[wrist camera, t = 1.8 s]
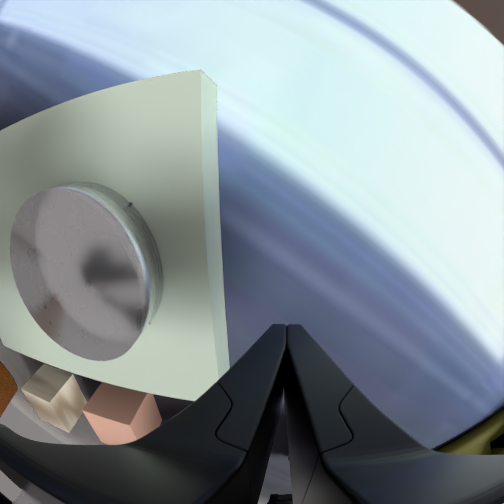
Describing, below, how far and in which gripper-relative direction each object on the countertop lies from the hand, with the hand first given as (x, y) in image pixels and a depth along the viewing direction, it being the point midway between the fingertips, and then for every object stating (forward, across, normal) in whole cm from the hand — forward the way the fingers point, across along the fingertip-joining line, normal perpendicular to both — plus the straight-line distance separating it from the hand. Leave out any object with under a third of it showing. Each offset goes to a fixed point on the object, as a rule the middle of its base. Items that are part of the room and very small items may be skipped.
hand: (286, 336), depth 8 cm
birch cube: (+8, +22, +15) cm, 27 cm away
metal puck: (+5, +10, 0) cm, 11 cm away
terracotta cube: (+8, +13, +14) cm, 20 cm away
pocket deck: (+8, +14, 0) cm, 16 cm away
